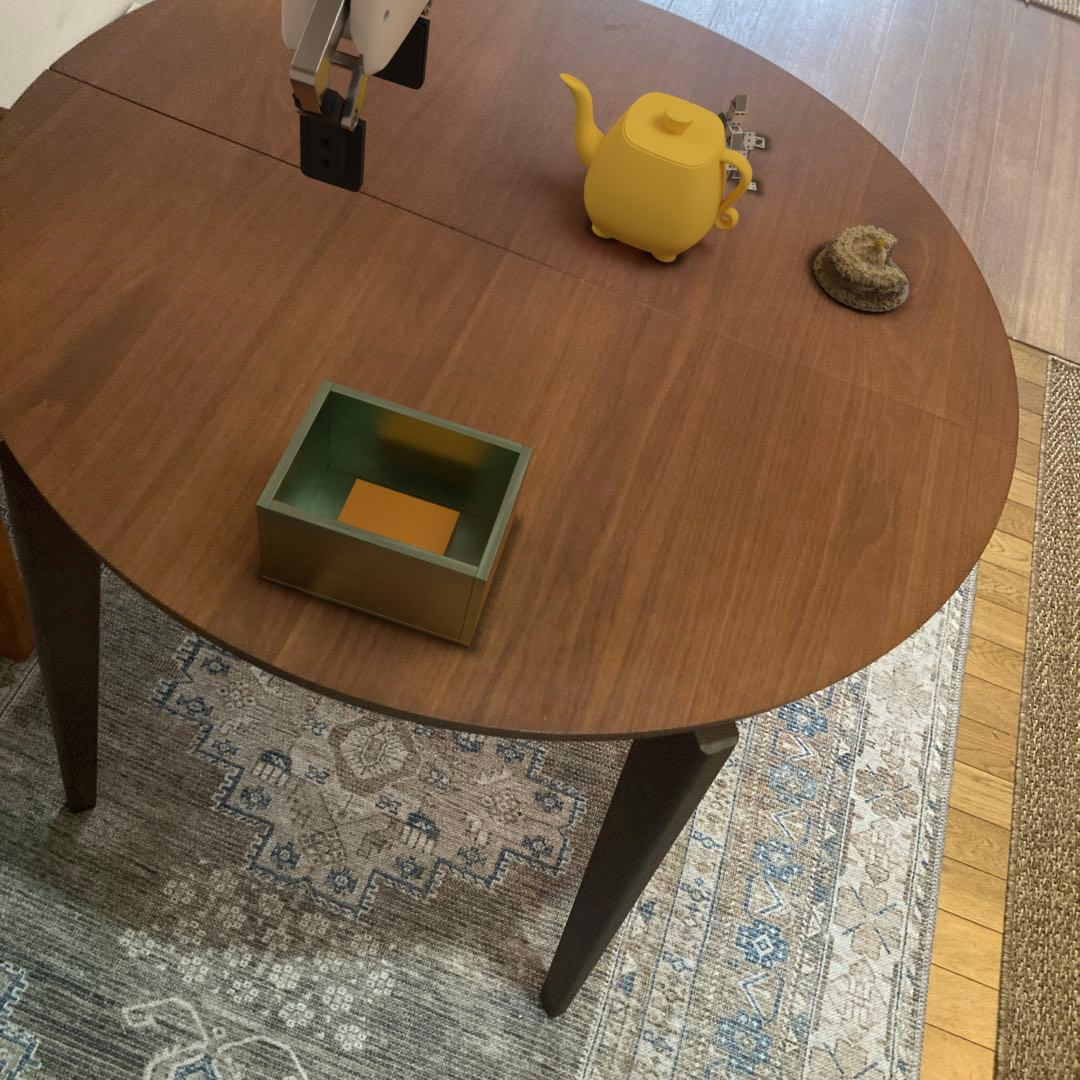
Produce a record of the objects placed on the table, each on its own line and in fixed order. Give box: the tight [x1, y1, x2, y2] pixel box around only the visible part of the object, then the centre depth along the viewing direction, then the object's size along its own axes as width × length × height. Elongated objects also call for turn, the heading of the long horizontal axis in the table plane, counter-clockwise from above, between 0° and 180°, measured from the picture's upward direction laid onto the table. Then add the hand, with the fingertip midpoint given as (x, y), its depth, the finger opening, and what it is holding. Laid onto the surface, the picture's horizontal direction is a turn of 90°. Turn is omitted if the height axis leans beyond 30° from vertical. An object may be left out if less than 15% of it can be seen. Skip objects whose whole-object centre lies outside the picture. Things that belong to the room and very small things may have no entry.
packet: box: [337, 479, 460, 557], centre depth 76 cm, size 8×6×3 cm
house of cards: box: [717, 93, 766, 191], centre depth 108 cm, size 9×9×8 cm
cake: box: [812, 224, 910, 313], centre depth 102 cm, size 10×10×5 cm
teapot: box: [559, 72, 753, 263], centre depth 98 cm, size 14×20×13 cm
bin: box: [255, 378, 534, 648], centre depth 74 cm, size 16×12×10 cm
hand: (365, 128), depth 56 cm, fingers open, 9 cm apart
